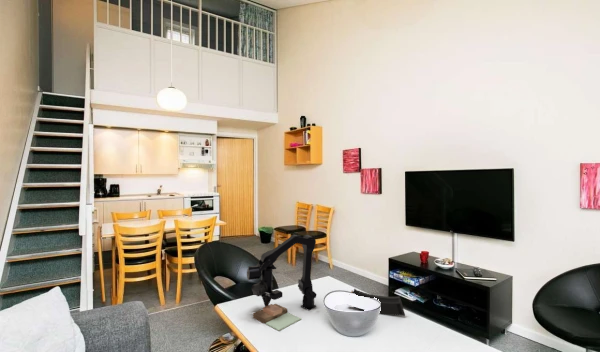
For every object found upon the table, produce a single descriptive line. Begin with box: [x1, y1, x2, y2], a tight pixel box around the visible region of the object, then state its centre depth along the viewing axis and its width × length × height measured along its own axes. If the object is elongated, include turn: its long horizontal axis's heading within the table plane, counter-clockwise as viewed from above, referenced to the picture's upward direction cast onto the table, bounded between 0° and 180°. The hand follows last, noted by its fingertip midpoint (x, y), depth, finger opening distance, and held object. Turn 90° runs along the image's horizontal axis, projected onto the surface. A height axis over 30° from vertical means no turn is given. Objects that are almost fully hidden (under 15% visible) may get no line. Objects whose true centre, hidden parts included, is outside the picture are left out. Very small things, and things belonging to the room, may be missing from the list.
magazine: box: [350, 288, 406, 316], centre depth 165 cm, size 17×3×30 cm
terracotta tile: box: [262, 303, 282, 316], centre depth 158 cm, size 6×8×2 cm
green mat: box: [264, 312, 302, 332], centre depth 152 cm, size 16×10×1 cm, turn 138°
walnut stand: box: [252, 303, 288, 325], centre depth 159 cm, size 16×9×2 cm, turn 138°
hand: (266, 307), depth 161 cm, fingers closed
